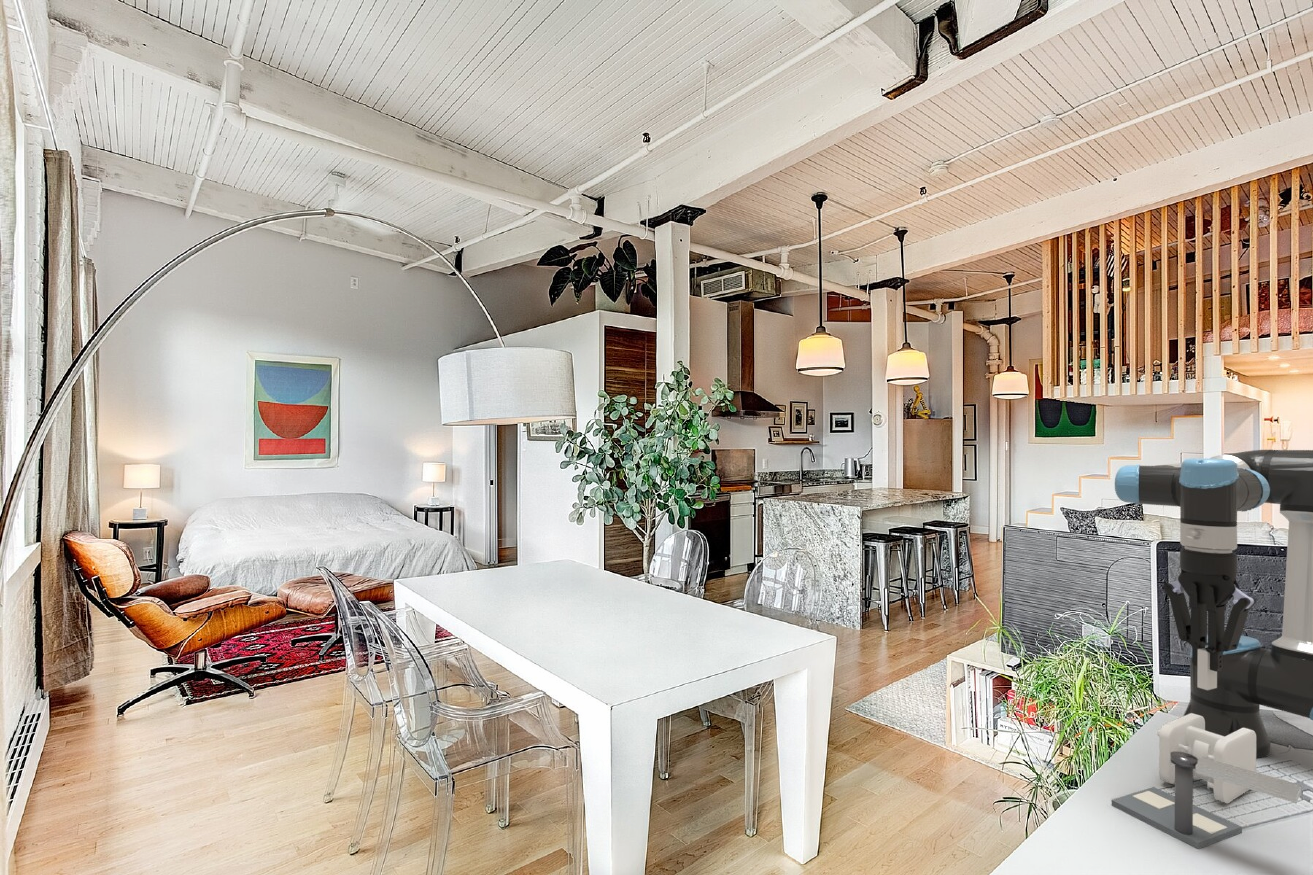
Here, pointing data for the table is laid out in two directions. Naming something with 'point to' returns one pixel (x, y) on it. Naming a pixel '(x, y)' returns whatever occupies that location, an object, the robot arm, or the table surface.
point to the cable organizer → (1206, 751)
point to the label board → (1169, 819)
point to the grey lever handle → (1238, 776)
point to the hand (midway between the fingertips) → (1207, 687)
